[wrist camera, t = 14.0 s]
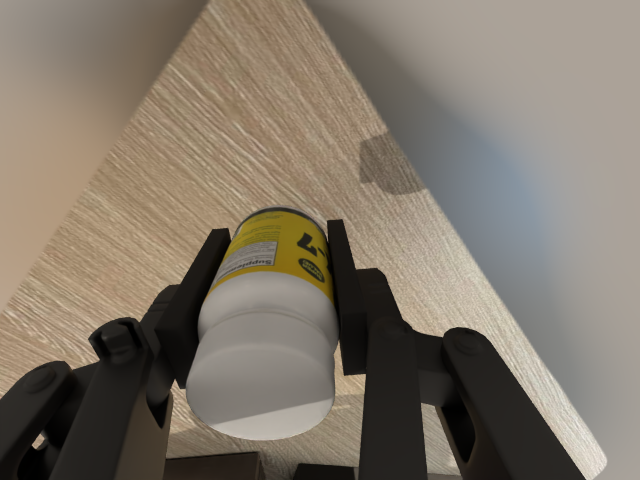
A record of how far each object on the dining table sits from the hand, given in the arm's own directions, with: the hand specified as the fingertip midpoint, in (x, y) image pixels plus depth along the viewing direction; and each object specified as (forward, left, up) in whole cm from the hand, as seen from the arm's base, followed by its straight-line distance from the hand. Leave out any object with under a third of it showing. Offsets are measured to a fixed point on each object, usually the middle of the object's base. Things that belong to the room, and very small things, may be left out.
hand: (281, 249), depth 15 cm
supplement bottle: (0, 0, -1) cm, 1 cm away
